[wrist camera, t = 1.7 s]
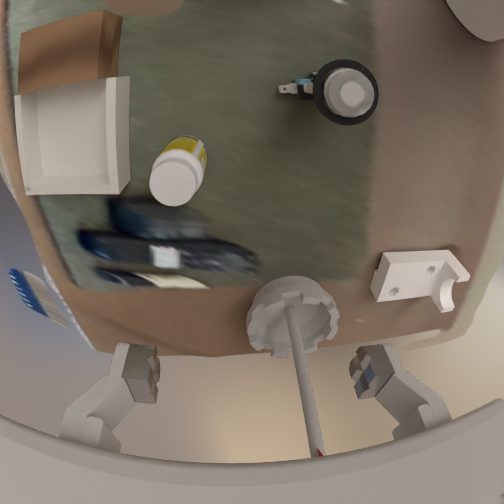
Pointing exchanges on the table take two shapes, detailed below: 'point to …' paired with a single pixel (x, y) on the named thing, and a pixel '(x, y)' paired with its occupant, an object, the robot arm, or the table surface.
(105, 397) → the robot arm
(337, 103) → the push button
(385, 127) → the table surface
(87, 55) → the walnut step
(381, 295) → the bracket
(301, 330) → the flag stand
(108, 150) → the grey tray
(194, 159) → the supplement bottle
